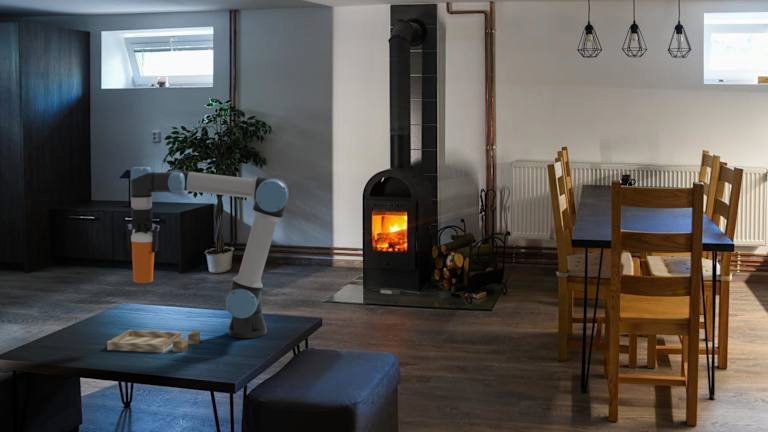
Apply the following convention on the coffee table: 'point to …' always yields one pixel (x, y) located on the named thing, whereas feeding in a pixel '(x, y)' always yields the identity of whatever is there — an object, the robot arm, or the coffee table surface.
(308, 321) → the coffee table surface
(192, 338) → the oak block
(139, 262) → the shaker bottle
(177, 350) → the oak block
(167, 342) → the tray
